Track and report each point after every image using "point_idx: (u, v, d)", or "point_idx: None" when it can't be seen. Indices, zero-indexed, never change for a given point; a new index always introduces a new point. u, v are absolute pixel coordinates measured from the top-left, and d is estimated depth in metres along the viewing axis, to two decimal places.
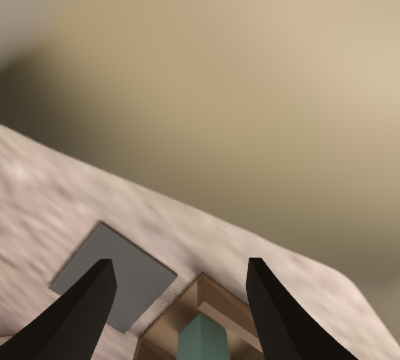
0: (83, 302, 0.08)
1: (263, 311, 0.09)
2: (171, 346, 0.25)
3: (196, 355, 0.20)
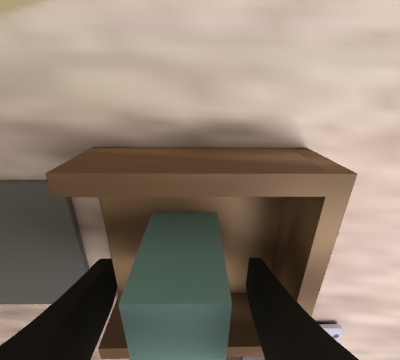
0: (83, 302, 0.08)
1: (263, 311, 0.09)
2: None
3: None
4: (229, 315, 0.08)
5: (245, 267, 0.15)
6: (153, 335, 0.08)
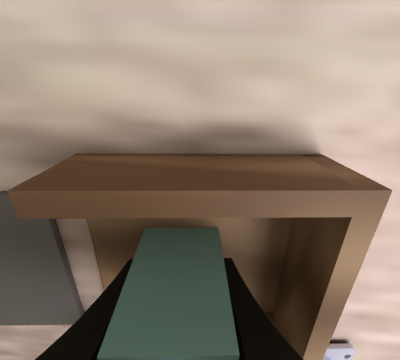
0: None
1: None
2: None
3: None
4: None
5: (250, 285, 0.13)
6: None
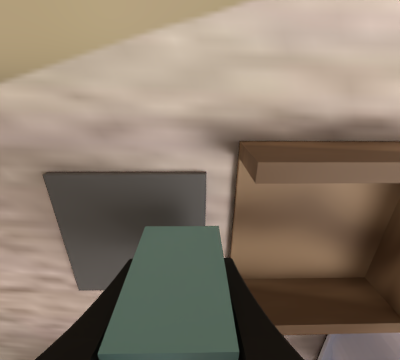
0: None
1: None
2: (275, 269, 0.16)
3: None
4: None
5: (352, 253, 0.16)
6: None
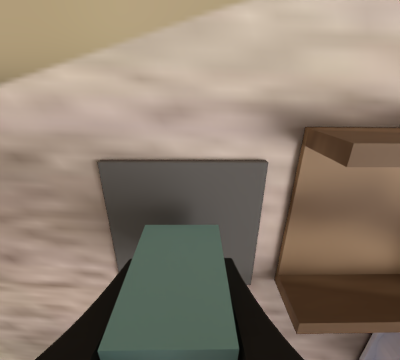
0: None
1: None
2: (327, 264, 0.16)
3: None
4: None
5: None
6: None
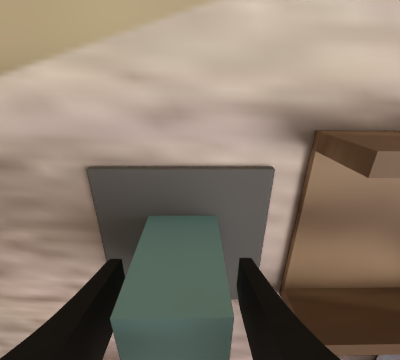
0: (96, 302, 0.08)
1: (251, 311, 0.09)
2: (336, 277, 0.14)
3: None
4: (231, 329, 0.07)
5: None
6: (148, 351, 0.07)
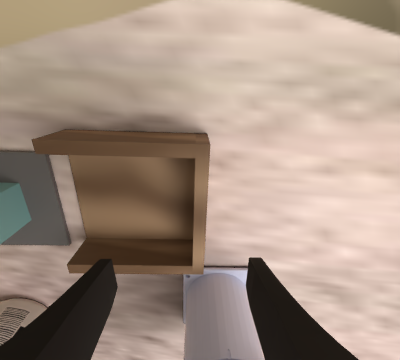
0: (83, 302, 0.08)
1: (263, 311, 0.09)
2: (120, 230, 0.21)
3: None
4: None
5: (175, 218, 0.21)
6: None
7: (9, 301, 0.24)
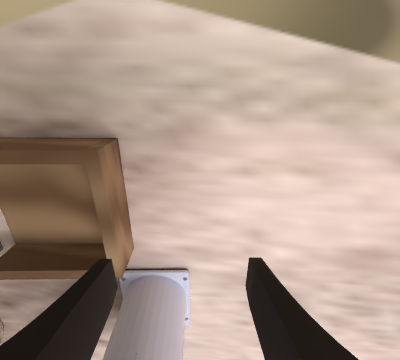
0: (83, 302, 0.08)
1: (263, 311, 0.09)
2: (47, 236, 0.21)
3: None
4: None
5: None
6: None
7: None
